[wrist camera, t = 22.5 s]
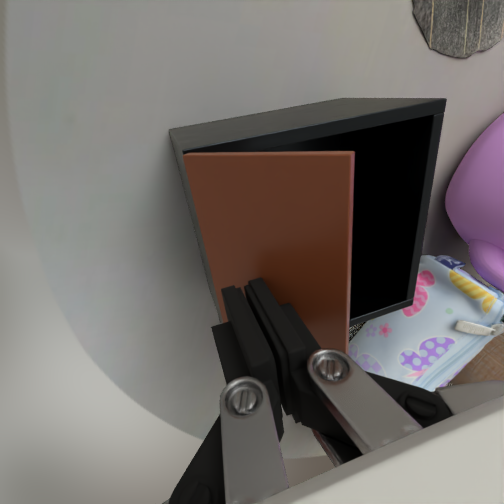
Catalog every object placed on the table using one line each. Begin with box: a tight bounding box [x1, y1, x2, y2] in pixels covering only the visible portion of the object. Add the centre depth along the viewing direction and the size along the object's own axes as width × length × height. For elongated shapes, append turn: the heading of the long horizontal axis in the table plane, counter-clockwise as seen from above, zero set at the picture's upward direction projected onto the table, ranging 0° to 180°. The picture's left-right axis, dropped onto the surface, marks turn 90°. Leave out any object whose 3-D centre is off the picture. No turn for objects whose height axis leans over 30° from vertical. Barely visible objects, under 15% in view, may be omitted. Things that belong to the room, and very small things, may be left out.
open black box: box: [169, 98, 447, 327], centre depth 19 cm, size 12×12×9 cm
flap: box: [182, 151, 355, 355], centre depth 12 cm, size 6×12×1 cm
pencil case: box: [348, 255, 504, 392], centre depth 29 cm, size 21×9×10 cm, turn 145°
